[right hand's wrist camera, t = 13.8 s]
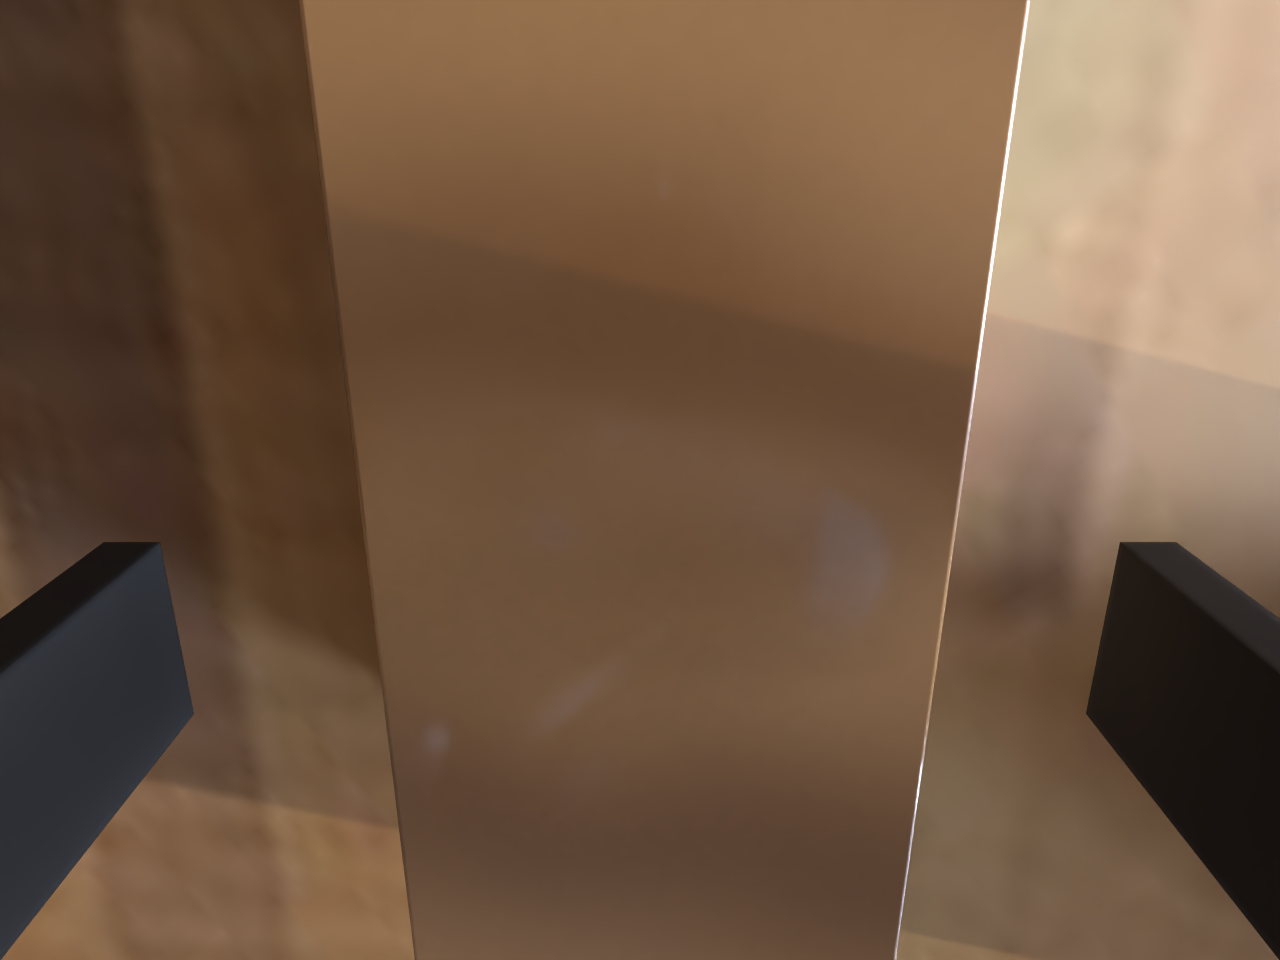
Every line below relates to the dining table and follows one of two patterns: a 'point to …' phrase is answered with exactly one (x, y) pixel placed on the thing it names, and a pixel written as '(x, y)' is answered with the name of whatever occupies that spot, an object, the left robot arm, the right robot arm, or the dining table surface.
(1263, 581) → the dining table surface
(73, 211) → the dining table surface
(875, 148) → the beam
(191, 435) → the dining table surface
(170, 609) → the right robot arm
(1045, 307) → the dining table surface
